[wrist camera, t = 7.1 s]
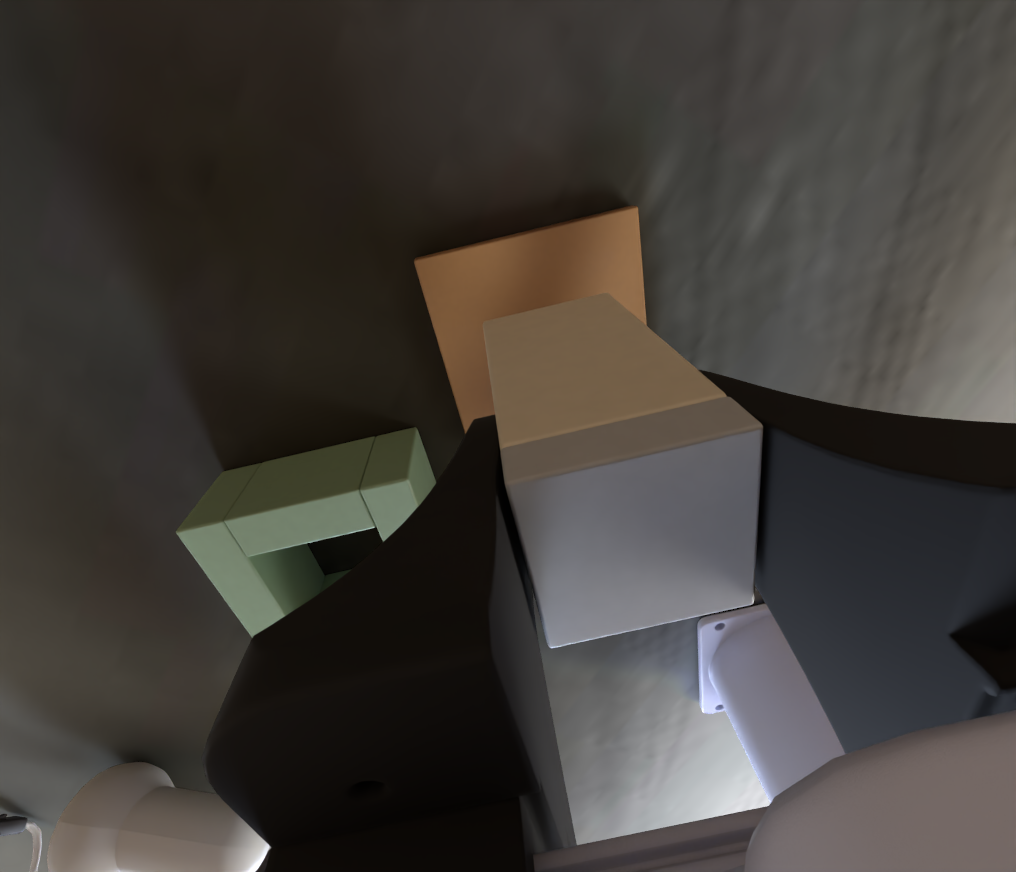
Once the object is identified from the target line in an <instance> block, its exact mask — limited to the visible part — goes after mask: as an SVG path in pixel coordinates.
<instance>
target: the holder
mask: <svg viewBox="0 0 1016 872" xmlns="http://www.w3.org/2000/svg"><path fill="white" fill-rule="evenodd" d="M435 484H436V480H435V478H434V475H433V472H432V469H431V466H430V463H429V461H428V458H427V455H426V452H425V449H424V446H423V444H422V441H421V438H420V435H419V432H418V429H417V428H416V427H414V428H409V429H405V430H401V431H396V432H392V433H388V434H384V435H379V436H377V437H375V436H373V437H369V438H365V439H361V440H356V441H352V442H348V443H343V444H339V445H335V446H331V447H326V448H322V449H318V450H313V451H309V452H305V453H300V454H296V455H292V456H288V457H283V458H279V459H275V460H270V461H266V462H263V463H258V464H254V465H250V466H246V467H241V468H237V469H233V470H228V471H224V472H222V473H221V474H220V475H219V477H218V478H217V479H216V481H215V482H214V483H213V484H212V486H211V487H210V488H209V489H208V491H207V492H206V493H205V495H204V496H203V497H202V498H201V500H200V501H199V502H198V504H197V505H196V506H195V507H194V509H193V510H192V511H191V512H190V514H189V515H188V516H187V518H186V519H185V520H184V521H183V523H182V524H181V525H180V527H179V528H178V529H177V530H176V533H177V535H178V536H179V537H180V539H181V540H182V542H183V543H184V544H185V546H186V547H187V549H188V550H189V551H190V553H191V554H192V555H193V557H194V558H195V560H196V561H197V562H198V564H199V565H200V566H201V568H202V569H203V571H204V572H205V573H206V575H207V576H208V578H209V579H210V580H211V582H212V583H213V584H214V586H215V587H216V589H217V590H218V591H219V593H220V594H221V595H222V597H223V598H224V600H225V601H226V602H227V604H228V605H229V606H230V608H231V609H232V611H233V612H234V613H235V615H236V616H237V618H238V619H239V620H240V622H241V623H242V624H243V626H244V627H245V629H246V630H247V631H248V633H249V634H250V635H251V637H252V638H253V636H254V635H256V634H257V633H259V632H261V631H262V630H264V629H266V628H267V627H269V626H270V625H272V624H274V623H275V622H277V621H278V620H280V619H281V618H283V617H284V616H286V615H287V614H289V613H291V612H292V611H294V610H295V609H297V608H298V607H300V606H301V605H303V604H304V603H306V602H308V601H309V600H311V599H312V598H314V597H315V596H316V595H318V594H319V593H321V592H322V591H324V590H325V589H326V588H328V587H329V586H330V585H332V584H333V583H334V582H336V581H337V580H338V579H340V578H341V577H342V576H344V575H345V574H346V573H348V572H349V571H350V570H351V569H350V570H346V571H342V572H337V573H333V574H328V575H326V576H325V575H324V574H323V572H322V570H321V568H320V566H319V565H318V563H317V561H316V559H315V557H314V556H313V554H312V552H311V550H310V548H309V547H308V545H307V543H310V542H314V541H319V540H323V539H328V538H332V537H336V536H341V535H345V534H350V533H354V532H358V531H363V530H367V529H372V528H375V526H376V527H377V529H378V532H379V534H380V536H381V538H382V540H383V542H384V541H385V540H386V539H387V538H388V537H389V536H390V535H391V534H392V533H393V532H394V531H396V530H397V529H398V528H399V527H400V526H401V525H402V524H403V523H404V522H405V521H406V519H407V518H408V517H409V516H410V515H411V514H412V513H413V512H414V511H415V509H416V508H417V507H418V506H419V505H420V504H421V503H422V501H423V500H424V499H425V498H426V496H427V495H428V494H429V493H430V491H431V490H432V488H433V487H434V485H435Z"/></svg>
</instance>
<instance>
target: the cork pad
mask: <svg viewBox="0 0 1016 872" xmlns="http://www.w3.org/2000/svg"><path fill="white" fill-rule="evenodd" d="M414 264H415V268H416V271H417V274H418V278H419V281H420V284H421V288H422V291H423V294H424V298H425V301H426V304H427V308H428V311H429V314H430V318H431V321H432V325H433V328H434V331H435V335H436V338H437V341H438V345H439V348H440V351H441V355H442V358H443V361H444V365H445V368H446V371H447V375H448V378H449V382H450V385H451V388H452V392H453V395H454V398H455V402H456V405H457V408H458V412H459V415H460V418H461V422H462V425H463V428H464V432H465V434H466V432H467V430H468V428H469V426H470V424H471V423H472V421H473V420H474V419H477V418H481V417H486V416H490V415H494V414H495V409H494V402H493V395H492V388H491V381H490V374H489V366H488V359H487V352H486V345H485V338H484V330H483V323H484V322H485V321H489V320H493V319H497V318H501V317H505V316H510V315H514V314H518V313H522V312H526V311H531V310H535V309H539V308H543V307H547V306H552V305H556V304H560V303H564V302H568V301H573V300H577V299H581V298H585V297H589V296H594V295H598V294H602V293H609V294H610V295H611V296H612V297H613V298H614V299H616V300H617V301H618V302H619V303H620V304H621V305H623V306H624V307H625V308H626V309H627V310H628V311H630V312H631V313H632V314H633V315H634V316H635V317H637V318H638V319H639V320H640V321H641V322H642V323H644V324H645V325H646V326H647V324H646V310H645V297H644V283H643V270H642V256H641V243H640V229H639V216H638V207H637V206H633V205H631V206H627V207H623V208H619V209H615V210H610V211H606V212H602V213H598V214H594V215H590V216H586V217H582V218H578V219H573V220H569V221H565V222H561V223H557V224H553V225H549V226H545V227H541V228H536V229H532V230H528V231H524V232H520V233H516V234H512V235H508V236H504V237H499V238H495V239H491V240H487V241H483V242H479V243H475V244H471V245H467V246H462V247H458V248H454V249H450V250H446V251H442V252H438V253H434V254H430V255H425V256H421V257H417V258H415V260H414Z"/></svg>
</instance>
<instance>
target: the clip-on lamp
mask: <svg viewBox="0 0 1016 872" xmlns="http://www.w3.org/2000/svg"><path fill="white" fill-rule="evenodd" d="M6 816H7V814H2V815H0V836H6V835H12V834H18V833H21V832H22V831H24V829H25V828H27V829H28V830H29V832H30V833H31V834H32V835H33V856H32V862H31V867H30V872H37V869H38V865H39V859H40V853H41V848H42V837H41V829H40V828H39V827H38V826H37V825H36V824H35V823H34V822H27V818H25V817H19V816H12V817H6ZM270 851H271V847H270V846H269V845H268V844H267V843H266V842H265V841H264V840H263V839H262V838H261V837H260V836H259V835H258V834H257V833H256V832H255V831H254V830H253V829H252V828H251V827H250V826H249V825H248V824H247V823H246V822H245V821H244V820H243V819H241V818H240V817H239V816H238V815H237V814H236V813H235V812H234V811H233V810H232V809H231V808H230V807H229V806H228V805H227V804H226V803H225V802H224V801H223V800H222V799H221V798H220V796H219V795H218V794H212V793H206V792H200V791H194V790H188V789H182V788H176V787H175V786H174V784H173V783H172V781H171V779H170V777H169V776H168V774H167V773H166V772H165V771H164V770H162V769H160V768H159V767H156V766H154V765H152V764H149V763H145V762H133V763H126V764H120V765H116V766H113V767H110V768H108V769H107V770H105V771H103V772H101V773H99V774H97V775H96V776H95V777H94V778H93V779H91V780H90V781H89V782H88V783H87V784H85V785H84V786H83V787H82V788H81V790H80V791H79V792H78V793H77V794H76V796H75V797H74V798H73V799H72V800H71V801H70V803H69V804H68V806H67V807H66V808H65V810H64V811H63V813H62V815H61V816H60V818H59V820H58V823H57V825H56V827H55V830H54V832H53V835H52V837H51V839H50V843H49V849H48V854H47V863H48V870H49V872H265V869H266V865H267V861H268V858H269V854H270Z"/></svg>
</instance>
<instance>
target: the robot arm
mask: <svg viewBox="0 0 1016 872" xmlns="http://www.w3.org/2000/svg"><path fill="white" fill-rule="evenodd" d="M698 371H700V372H701V373H702V374H703V375H704V376H705V377H707V378H708V379H709V380H710V381H711V382H712V383H714V384H715V385H716V386H717V387H718V388H719V389H721V390H722V391H723V392H724V393H725V394H726V396H727V397H731V398H732V399H733V400H734V401H736V402H737V403H738V404H739V405H740V406H741V407H743V408H744V409H745V410H746V411H747V412H749V413H750V414H751V415H752V416H753V417H754V418H756V419H757V420H758V421H759V422H760V423H761V424H762V426H763V442H762V460H761V479H760V497H759V515H758V534H757V552H756V570H755V586H756V588H757V590H758V591H759V593H760V595H761V596H762V598H763V600H764V602H765V604H761V605H756V606H752V607H747V608H742V609H738V610H733V611H729V612H724V613H719V614H715V615H710V616H706V617H703V618H702V619H700V620H699V622H698V625H697V630H698V662H699V695H700V707H701V709H702V711H703V712H704V713H706V714H712V713H717V712H721V711H726V713H727V715H728V717H729V719H730V721H731V723H732V725H733V727H734V729H735V731H736V734H737V736H738V738H739V740H740V742H741V744H742V746H743V748H744V750H745V752H746V754H747V756H748V758H749V760H750V762H751V764H752V766H753V768H754V770H755V773H756V775H757V777H758V779H759V781H760V783H761V785H762V787H763V789H764V791H765V793H766V795H767V797H768V799H769V801H770V803H771V804H770V805H769V806H767V807H762V808H757V809H752V810H747V811H743V812H738V813H733V814H728V815H723V816H718V817H713V818H708V819H704V820H699V821H694V822H689V823H684V824H679V825H674V826H670V827H665V828H660V829H655V830H650V831H645V832H640V833H635V834H631V835H626V836H621V837H616V838H611V839H606V840H601V841H596V842H592V843H587V844H582V845H577V844H576V839H575V834H574V829H573V824H572V818H571V813H570V808H569V803H568V798H567V793H566V787H565V782H564V777H563V772H562V766H561V761H560V756H559V750H558V745H557V740H556V735H555V729H554V724H553V719H552V713H551V708H550V702H549V697H548V691H547V686H546V681H545V675H544V670H543V664H542V659H541V653H540V648H539V642H538V637H537V631H536V623H535V615H534V605H533V593H532V585H531V581H530V577H529V574H528V570H527V566H526V562H525V559H524V555H523V551H522V547H521V544H520V540H519V536H518V532H517V529H516V525H515V521H514V517H513V514H512V510H511V506H510V503H509V499H508V495H507V491H506V488H505V483H504V475H503V468H502V461H501V454H500V453H501V451H500V445H499V438H498V431H497V424H496V417H495V414H494V415H490V416H486V417H481V418H477V419H474V420H473V421H472V423H471V424H470V426H469V428H468V430H467V432H466V434H465V436H464V438H463V440H462V442H461V444H460V445H459V447H458V449H457V451H456V453H455V454H454V456H453V458H452V459H451V461H450V463H449V464H448V466H447V468H446V469H445V471H444V472H443V474H442V475H441V477H440V478H439V480H438V481H437V483H436V484H435V485H434V487H433V488H432V490H431V491H430V493H429V494H428V495H427V496H426V498H425V499H424V500H423V501H422V503H421V504H420V505H419V506H418V507H417V508H416V509H415V511H414V512H413V513H412V514H411V515H410V516H409V517H408V518H407V519H406V521H405V522H404V523H403V524H402V525H401V526H400V527H399V528H398V529H397V530H396V531H394V532H393V533H392V534H391V535H390V536H389V537H388V538H387V539H386V540H385V541H384V542H383V543H382V544H381V545H379V546H378V547H377V548H376V549H375V550H374V551H373V552H372V553H371V554H370V555H369V556H367V557H366V558H365V559H364V560H363V561H361V562H360V563H359V564H358V565H356V566H355V567H354V568H353V569H351V570H350V571H349V572H348V573H346V574H345V575H344V576H342V577H341V578H340V579H338V580H337V581H336V582H334V583H333V584H332V585H330V586H329V587H328V588H326V589H325V590H324V591H322V592H321V593H319V594H318V595H316V596H315V597H314V598H312V599H311V600H309V601H308V602H306V603H304V604H303V605H301V606H300V607H298V608H297V609H295V610H294V611H292V612H291V613H289V614H287V615H286V616H284V617H283V618H281V619H280V620H278V621H277V622H275V623H274V624H272V625H270V626H269V627H267V628H266V629H264V630H262V631H261V632H259V633H257V634H256V635H254V636H253V638H252V640H251V642H250V644H249V646H248V648H247V650H246V652H245V655H244V657H243V659H242V661H241V663H240V665H239V668H238V670H237V672H236V674H235V677H234V679H233V681H232V683H231V686H230V688H229V690H228V693H227V695H226V697H225V699H224V702H223V704H222V706H221V709H220V711H219V713H218V715H217V718H216V720H215V722H214V725H213V727H212V729H211V731H210V734H209V736H208V739H207V742H206V745H205V748H204V751H203V754H202V761H203V766H204V771H205V776H206V778H207V779H208V781H209V783H210V784H211V786H212V787H213V788H214V790H215V791H216V792H217V794H218V795H219V796H220V798H221V799H222V800H223V801H224V802H225V803H226V804H227V805H228V806H229V807H230V808H231V809H232V810H233V811H234V812H235V813H236V814H237V815H238V816H239V817H240V818H241V819H243V820H244V821H245V822H246V823H247V824H248V825H249V826H250V827H251V828H252V829H253V830H254V831H255V832H256V833H257V834H258V835H259V836H260V837H261V838H262V839H263V840H264V841H265V842H266V843H267V844H268V845H269V846H270V847H271V851H270V854H269V858H268V861H267V865H266V869H265V872H1016V423H996V422H977V421H963V420H952V419H941V418H929V417H918V416H910V415H901V414H893V413H886V412H880V411H873V410H867V409H860V408H854V407H848V406H842V405H837V404H832V403H827V402H822V401H818V400H814V399H809V398H805V397H800V396H796V395H792V394H788V393H784V392H780V391H776V390H772V389H769V388H765V387H761V386H758V385H754V384H751V383H747V382H744V381H740V380H736V379H733V378H729V377H726V376H722V375H719V374H715V373H711V372H707V371H702V370H698Z"/></svg>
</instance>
